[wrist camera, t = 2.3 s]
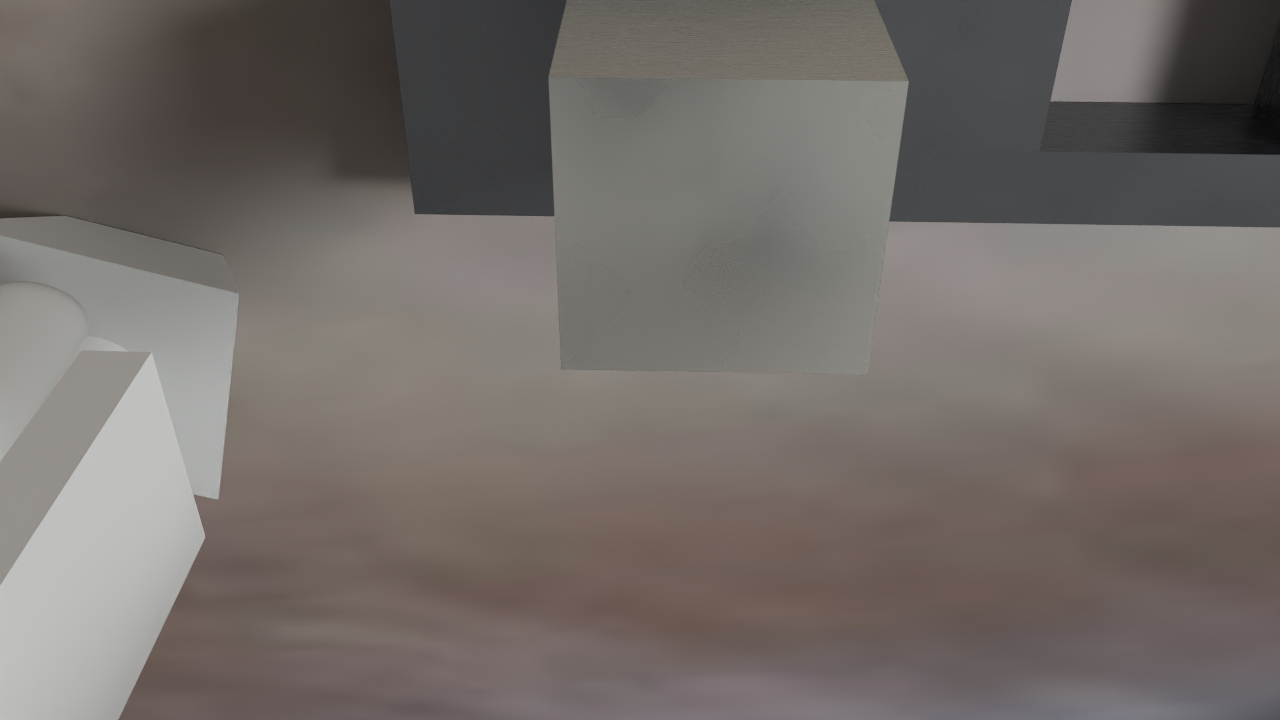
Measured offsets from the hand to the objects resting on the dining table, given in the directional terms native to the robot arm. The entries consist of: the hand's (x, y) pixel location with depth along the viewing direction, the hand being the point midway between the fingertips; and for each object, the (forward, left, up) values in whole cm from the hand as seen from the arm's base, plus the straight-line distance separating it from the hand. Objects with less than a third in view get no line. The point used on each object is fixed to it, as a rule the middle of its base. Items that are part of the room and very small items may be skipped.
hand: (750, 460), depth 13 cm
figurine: (-16, -10, -19) cm, 27 cm away
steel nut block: (0, 0, -19) cm, 19 cm away
